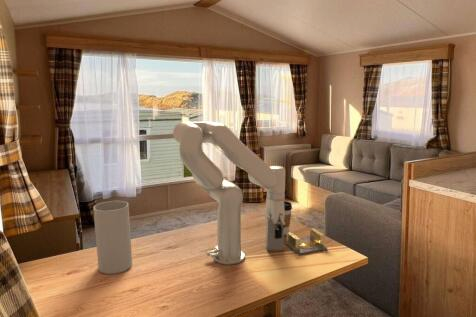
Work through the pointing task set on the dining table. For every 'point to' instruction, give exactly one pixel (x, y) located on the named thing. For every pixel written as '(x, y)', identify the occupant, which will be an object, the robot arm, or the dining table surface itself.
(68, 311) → the dining table surface
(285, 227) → the coffee cup
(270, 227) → the perfume bottle
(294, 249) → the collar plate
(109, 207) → the cylinder vase
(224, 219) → the robot arm
